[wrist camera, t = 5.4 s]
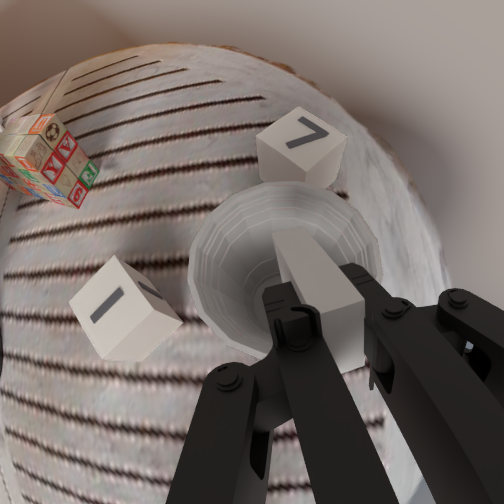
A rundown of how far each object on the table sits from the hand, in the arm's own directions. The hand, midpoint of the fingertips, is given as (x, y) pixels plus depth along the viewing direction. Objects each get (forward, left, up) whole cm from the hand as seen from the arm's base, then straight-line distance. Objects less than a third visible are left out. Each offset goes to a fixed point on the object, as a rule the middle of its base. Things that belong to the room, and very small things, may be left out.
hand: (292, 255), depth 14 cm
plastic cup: (0, 0, -13) cm, 13 cm away
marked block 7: (-8, +11, -13) cm, 19 cm away
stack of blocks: (-37, -13, -14) cm, 42 cm away
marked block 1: (-8, -11, -13) cm, 19 cm away
